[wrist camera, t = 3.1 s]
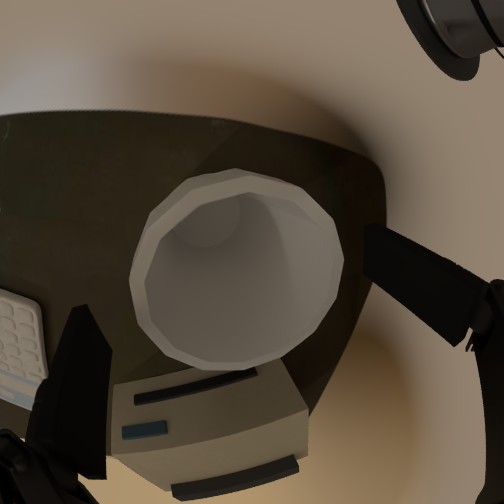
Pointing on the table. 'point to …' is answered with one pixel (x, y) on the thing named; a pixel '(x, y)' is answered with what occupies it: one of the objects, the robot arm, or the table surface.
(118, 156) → the table surface
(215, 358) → the foam cup
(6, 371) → the calculator
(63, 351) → the robot arm
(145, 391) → the printer
